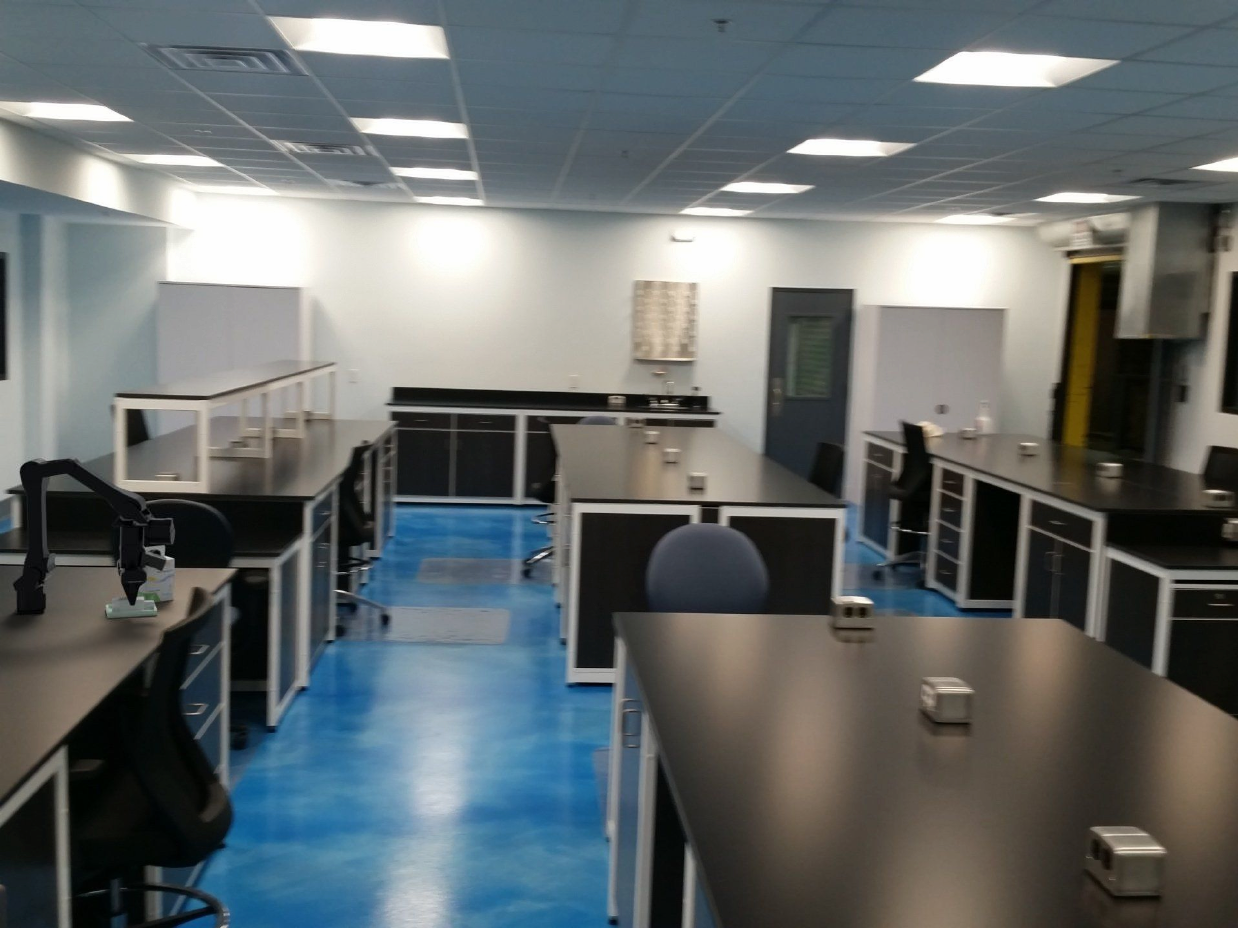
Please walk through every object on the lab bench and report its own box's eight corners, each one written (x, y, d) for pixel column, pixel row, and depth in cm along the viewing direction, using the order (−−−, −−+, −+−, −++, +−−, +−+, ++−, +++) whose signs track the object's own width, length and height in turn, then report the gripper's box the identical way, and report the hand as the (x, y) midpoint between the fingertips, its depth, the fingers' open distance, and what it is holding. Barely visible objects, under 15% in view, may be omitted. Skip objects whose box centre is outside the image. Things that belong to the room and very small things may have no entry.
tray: (107, 617, 305) (107, 612, 305) (105, 609, 313) (105, 604, 313) (157, 615, 310) (157, 610, 310) (154, 607, 318) (154, 602, 318)
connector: (112, 612, 308) (112, 600, 307) (111, 609, 311) (111, 597, 311) (154, 610, 312) (154, 599, 312) (152, 607, 316) (153, 595, 315)
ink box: (146, 604, 321) (146, 550, 320) (136, 600, 324) (136, 548, 323) (174, 599, 328) (175, 547, 327) (164, 596, 331) (165, 544, 330)
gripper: (168, 548, 305) (167, 608, 307) (161, 536, 321) (160, 592, 323) (121, 550, 300) (120, 610, 302) (117, 537, 317) (116, 594, 318)
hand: (131, 601), depth 311 cm, fingers open, 9 cm apart
